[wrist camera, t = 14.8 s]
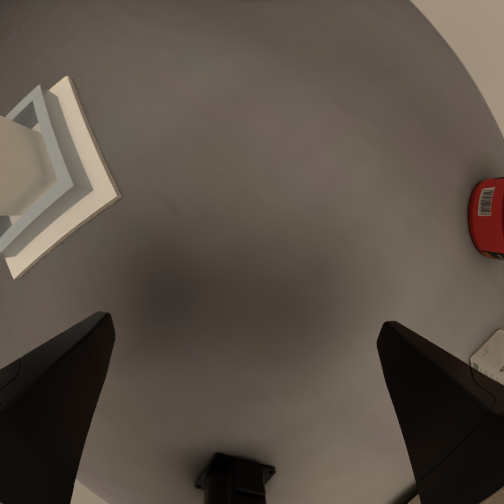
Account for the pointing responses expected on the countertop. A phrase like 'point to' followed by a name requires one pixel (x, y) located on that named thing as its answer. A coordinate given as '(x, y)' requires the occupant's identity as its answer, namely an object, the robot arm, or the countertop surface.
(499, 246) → the canned food
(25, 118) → the socket
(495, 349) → the syrup box
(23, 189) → the plug
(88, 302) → the countertop surface
